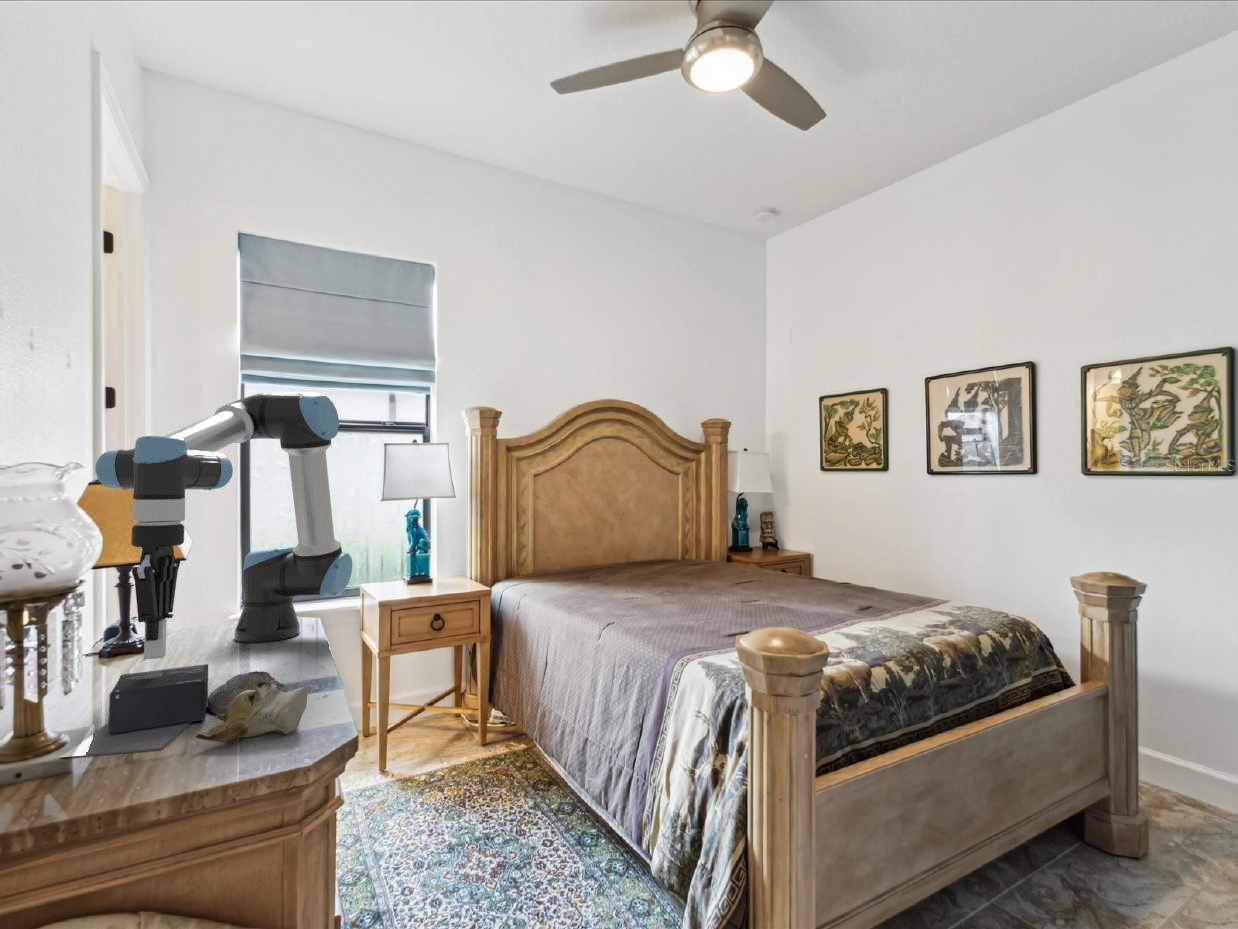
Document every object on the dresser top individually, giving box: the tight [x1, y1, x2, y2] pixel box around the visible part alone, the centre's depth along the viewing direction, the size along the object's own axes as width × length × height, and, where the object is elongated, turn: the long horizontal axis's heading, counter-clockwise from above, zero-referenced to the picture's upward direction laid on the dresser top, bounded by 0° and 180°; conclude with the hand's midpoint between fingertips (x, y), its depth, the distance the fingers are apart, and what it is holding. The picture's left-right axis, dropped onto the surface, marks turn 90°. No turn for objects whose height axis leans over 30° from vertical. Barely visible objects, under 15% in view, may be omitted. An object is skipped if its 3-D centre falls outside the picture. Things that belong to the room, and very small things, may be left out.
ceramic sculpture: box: [195, 682, 309, 743], centre depth 102 cm, size 11×9×15 cm
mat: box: [86, 706, 208, 757], centre depth 103 cm, size 18×13×1 cm
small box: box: [107, 663, 209, 735], centre depth 108 cm, size 13×7×12 cm
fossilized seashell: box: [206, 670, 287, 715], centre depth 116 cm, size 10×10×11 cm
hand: (154, 657), depth 110 cm, fingers closed
